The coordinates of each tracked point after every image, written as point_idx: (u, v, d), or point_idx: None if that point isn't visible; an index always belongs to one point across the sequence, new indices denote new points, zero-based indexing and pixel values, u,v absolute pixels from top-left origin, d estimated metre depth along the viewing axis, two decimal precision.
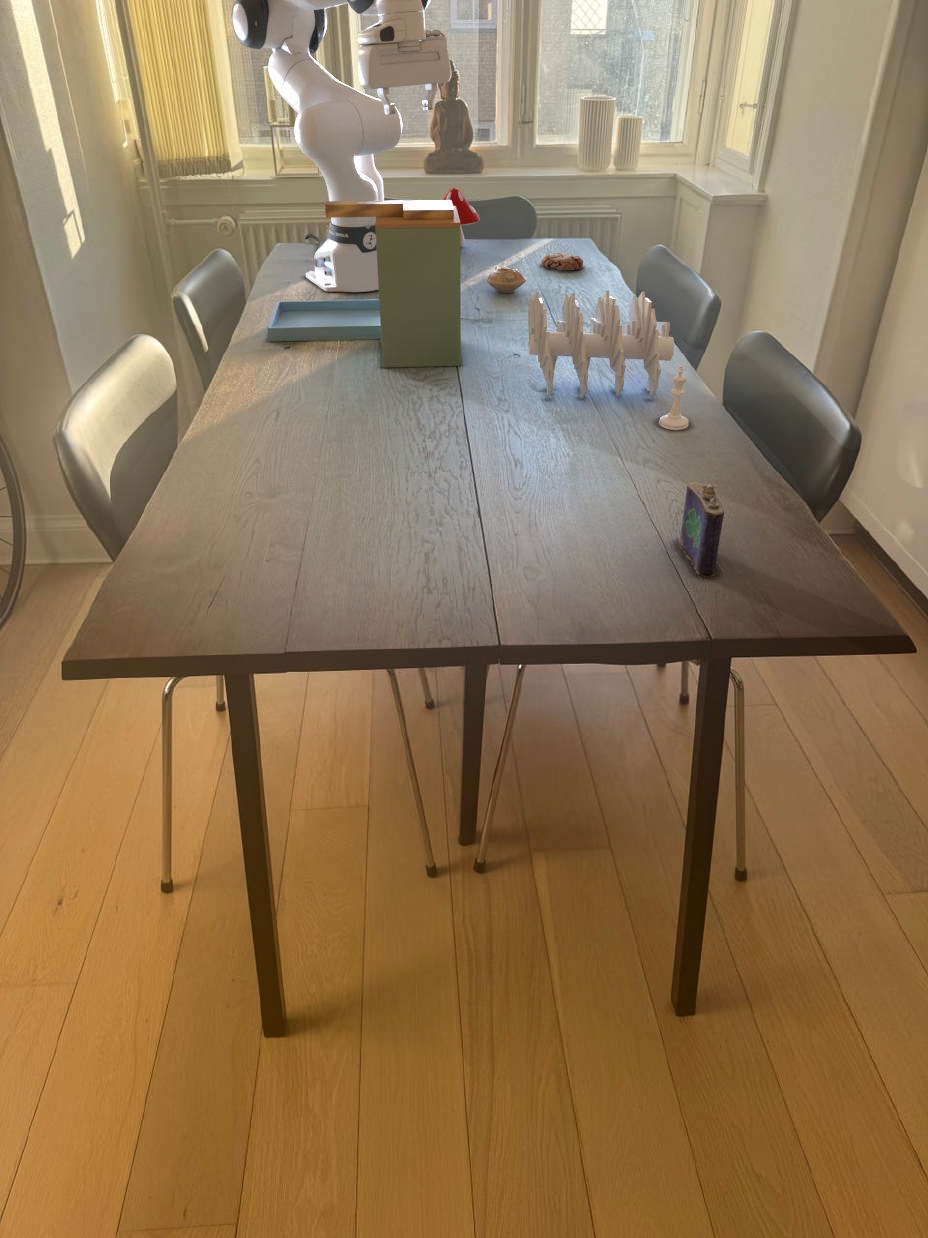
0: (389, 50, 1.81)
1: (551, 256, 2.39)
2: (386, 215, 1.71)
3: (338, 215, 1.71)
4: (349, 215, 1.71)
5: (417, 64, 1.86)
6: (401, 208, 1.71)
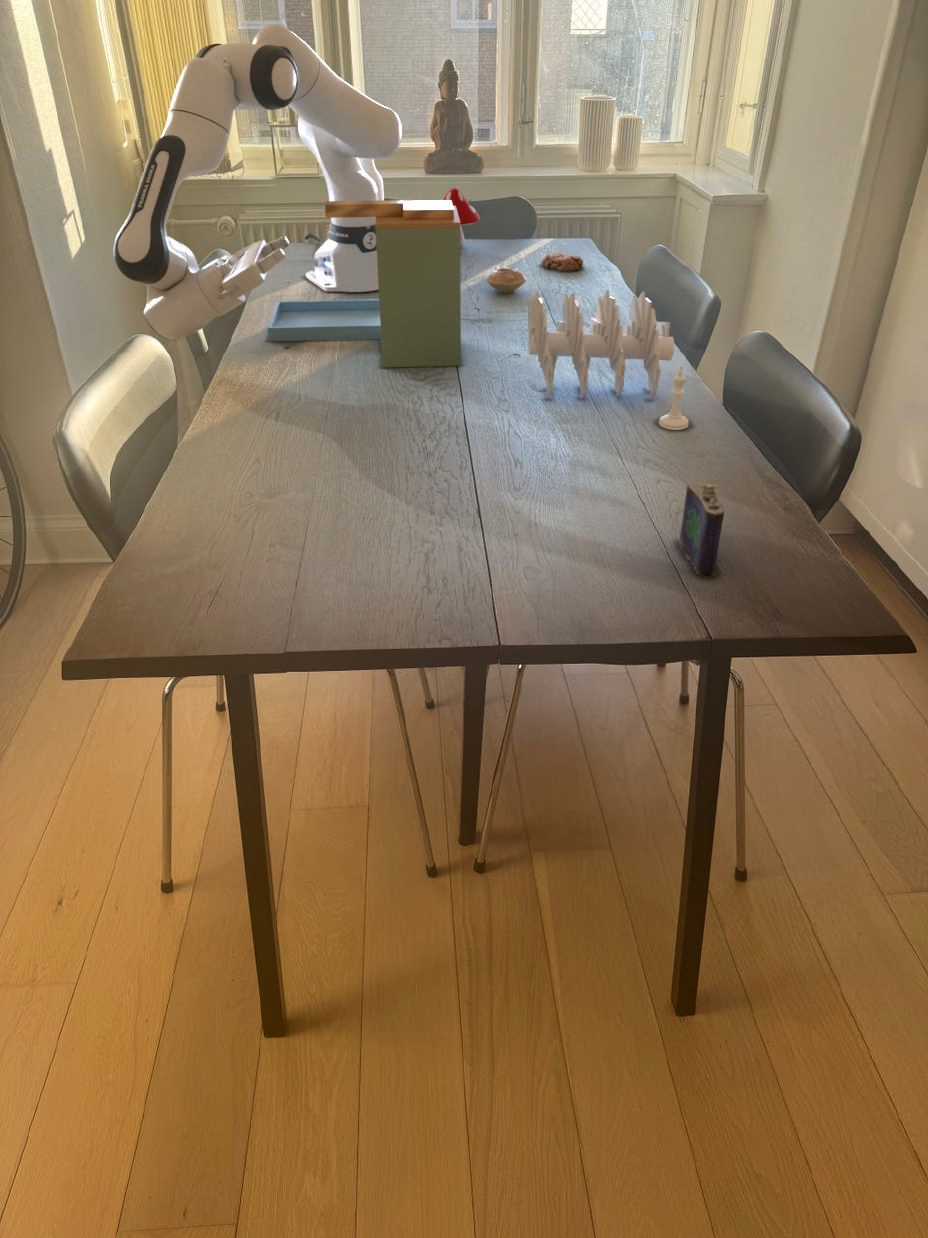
0: None
1: (551, 256, 2.39)
2: (386, 215, 1.71)
3: (338, 215, 1.71)
4: (349, 215, 1.71)
5: None
6: (401, 208, 1.71)
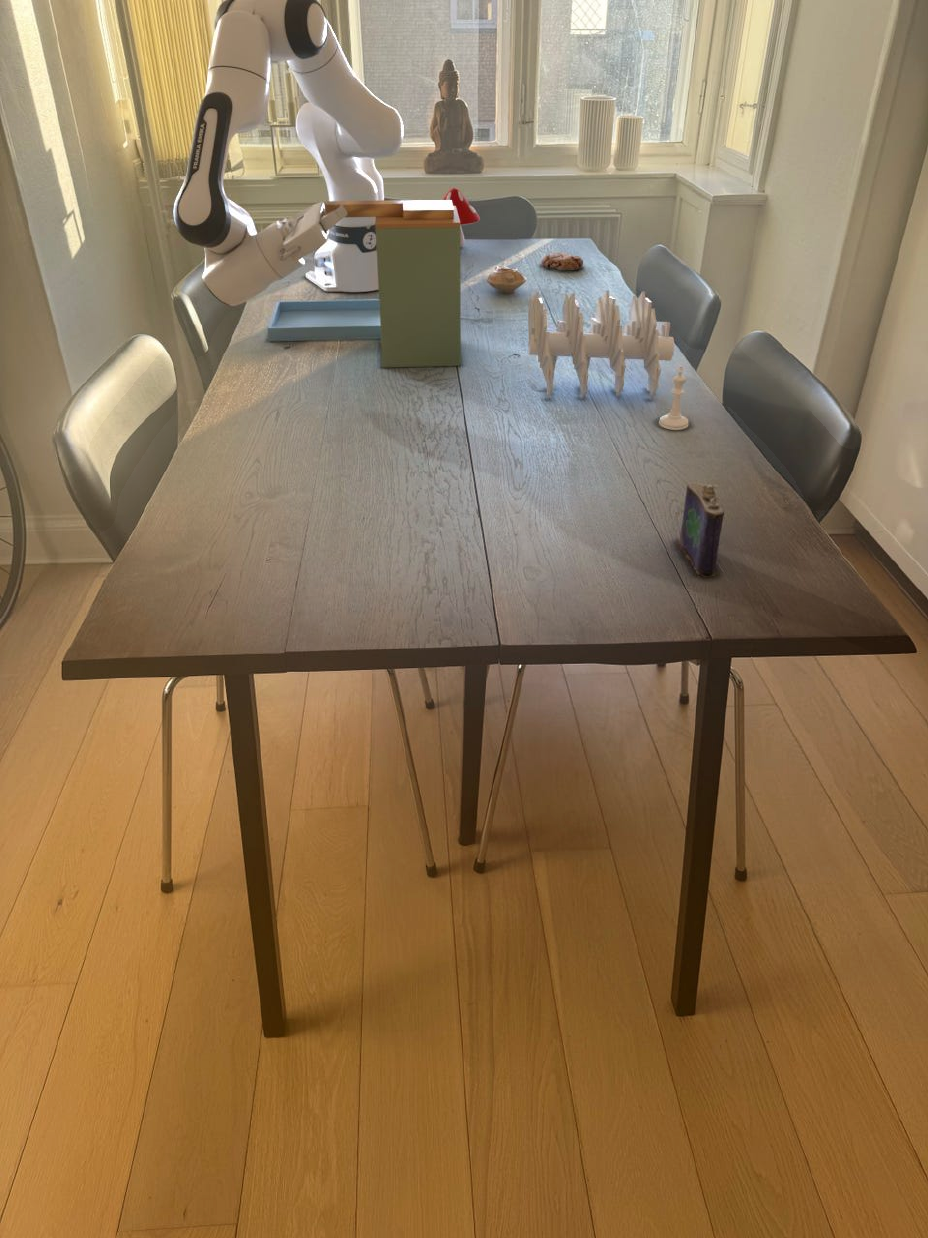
0: None
1: (551, 256, 2.39)
2: (386, 215, 1.71)
3: None
4: (349, 215, 1.71)
5: None
6: (401, 208, 1.71)
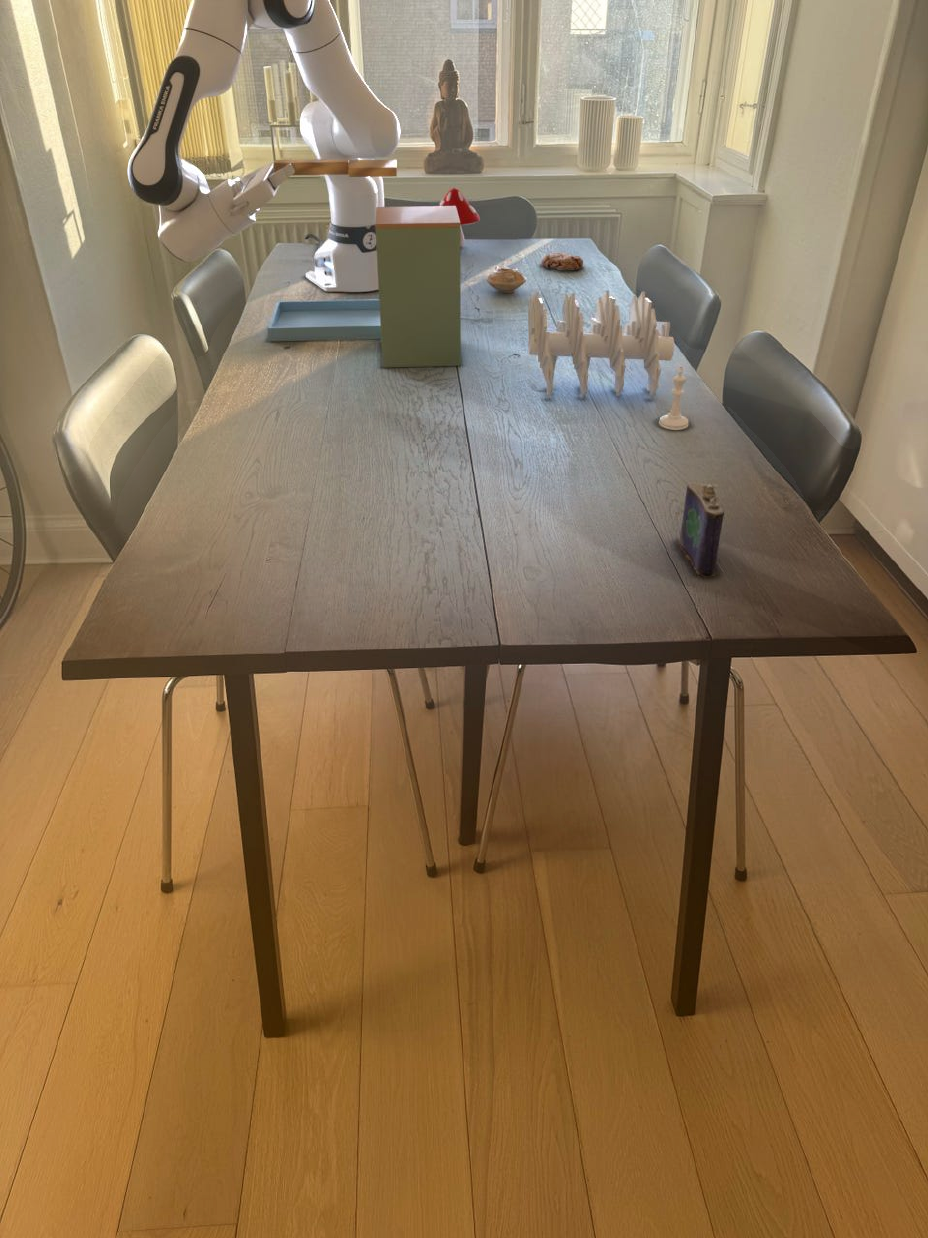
0: None
1: (551, 256, 2.39)
2: (332, 173, 1.79)
3: None
4: (297, 173, 1.79)
5: None
6: (347, 166, 1.78)
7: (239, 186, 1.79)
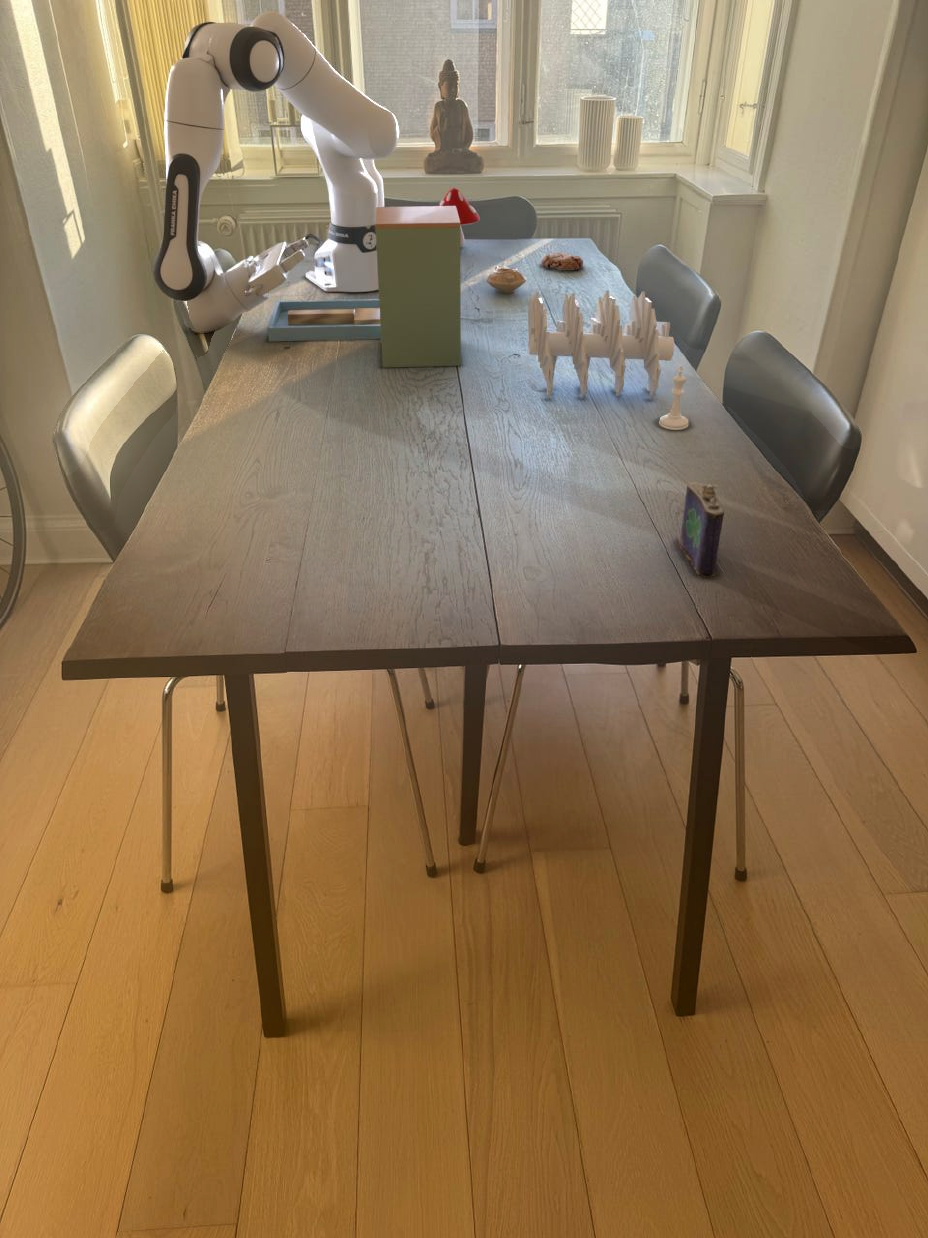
0: None
1: (551, 256, 2.39)
2: (340, 322, 2.01)
3: (299, 323, 2.00)
4: (308, 323, 2.00)
5: None
6: (353, 317, 2.00)
7: (253, 267, 1.93)
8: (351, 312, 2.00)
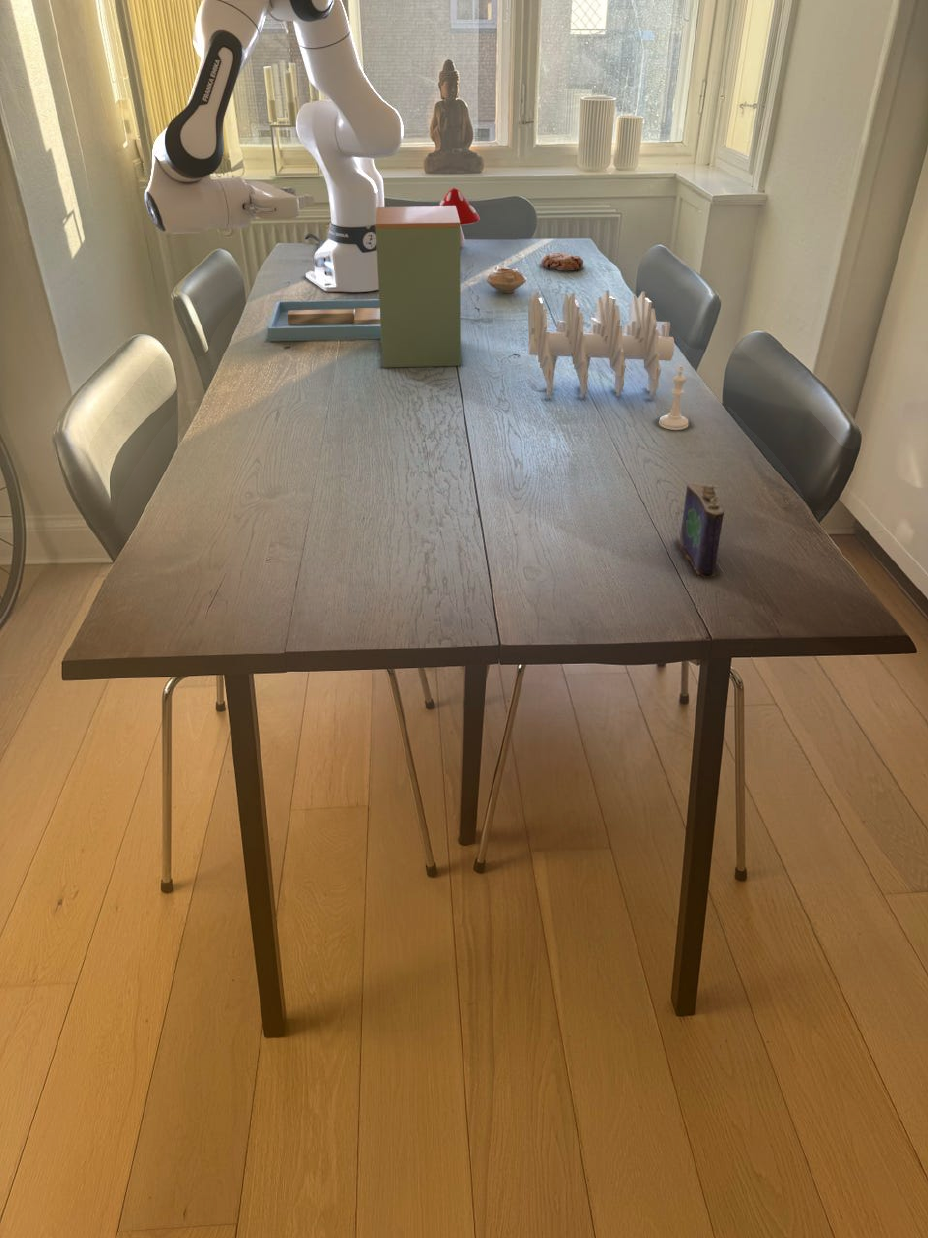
0: None
1: (551, 256, 2.39)
2: (340, 322, 2.01)
3: (299, 323, 2.00)
4: (308, 323, 2.00)
5: None
6: (353, 317, 2.00)
7: (252, 189, 1.79)
8: (351, 312, 2.00)
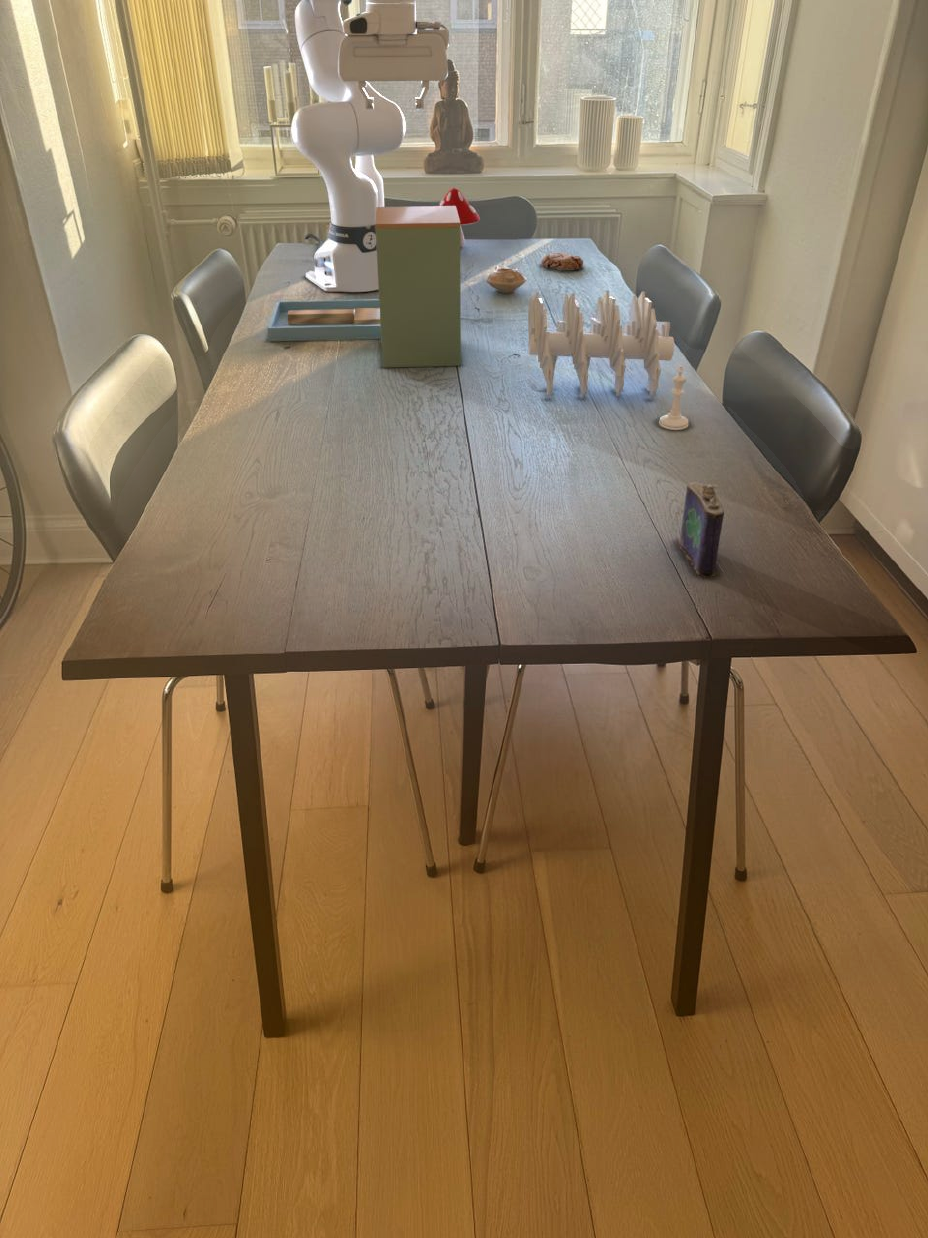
0: (363, 42, 1.71)
1: (551, 256, 2.39)
2: (340, 322, 2.01)
3: (299, 323, 2.00)
4: (308, 323, 2.00)
5: (401, 58, 1.73)
6: (353, 317, 2.00)
7: None
8: (351, 312, 2.00)
